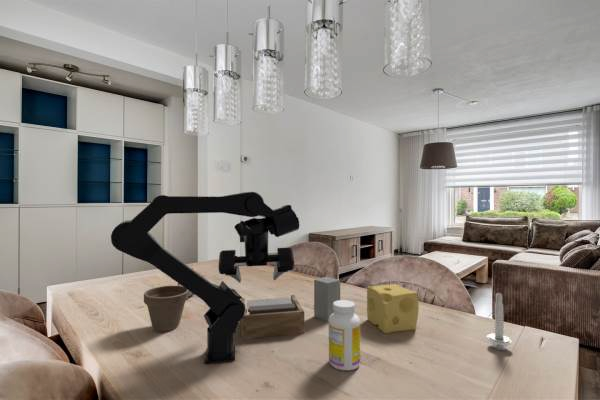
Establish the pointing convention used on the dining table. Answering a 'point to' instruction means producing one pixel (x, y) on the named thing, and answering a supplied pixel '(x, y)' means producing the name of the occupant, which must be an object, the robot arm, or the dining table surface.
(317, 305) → the grey rectangular block
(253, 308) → the trapdoor
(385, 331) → the cheese
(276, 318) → the trap frame
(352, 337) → the supplement bottle
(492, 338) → the screw
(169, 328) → the flower pot
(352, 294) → the dining table surface
